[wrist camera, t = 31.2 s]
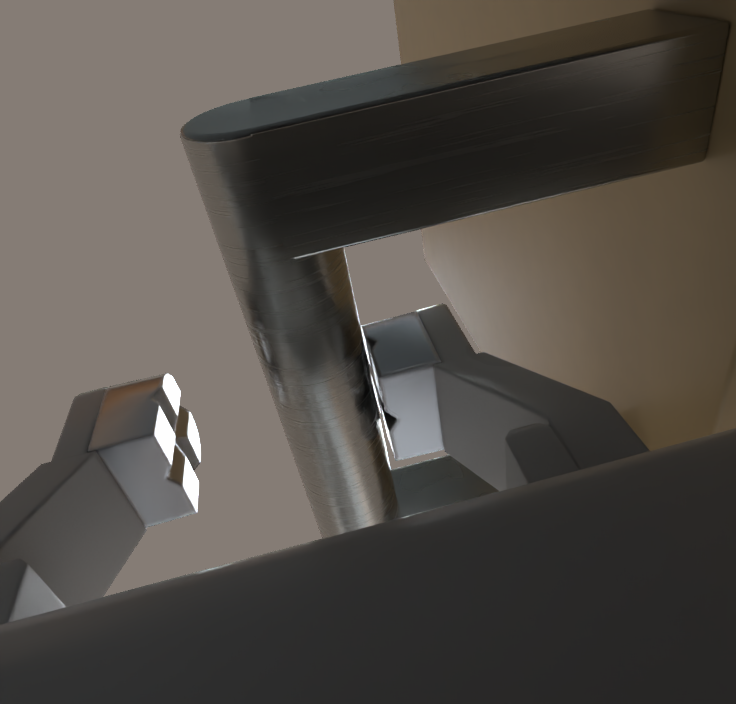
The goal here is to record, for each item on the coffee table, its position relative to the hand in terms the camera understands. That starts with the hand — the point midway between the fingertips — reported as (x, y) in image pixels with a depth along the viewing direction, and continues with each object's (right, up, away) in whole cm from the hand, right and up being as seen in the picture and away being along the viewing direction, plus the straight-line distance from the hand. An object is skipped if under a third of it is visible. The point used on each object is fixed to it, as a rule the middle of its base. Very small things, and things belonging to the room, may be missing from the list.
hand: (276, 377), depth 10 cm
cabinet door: (+1, +10, +1) cm, 11 cm away
